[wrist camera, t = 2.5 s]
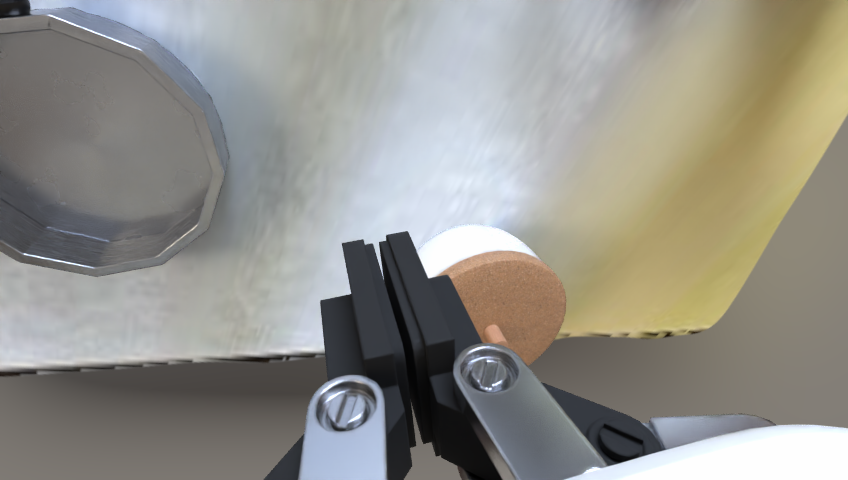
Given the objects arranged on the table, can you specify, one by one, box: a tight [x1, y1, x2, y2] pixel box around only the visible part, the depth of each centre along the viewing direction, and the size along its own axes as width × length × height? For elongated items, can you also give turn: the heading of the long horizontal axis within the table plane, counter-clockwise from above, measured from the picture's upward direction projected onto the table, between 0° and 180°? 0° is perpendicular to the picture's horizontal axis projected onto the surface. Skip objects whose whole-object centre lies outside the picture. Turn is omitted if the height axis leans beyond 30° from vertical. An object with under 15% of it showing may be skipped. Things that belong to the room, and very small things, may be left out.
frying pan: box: [0, 0, 229, 277], centre depth 21 cm, size 22×13×3 cm, turn 4°
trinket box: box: [417, 224, 566, 366], centre depth 32 cm, size 11×11×9 cm
